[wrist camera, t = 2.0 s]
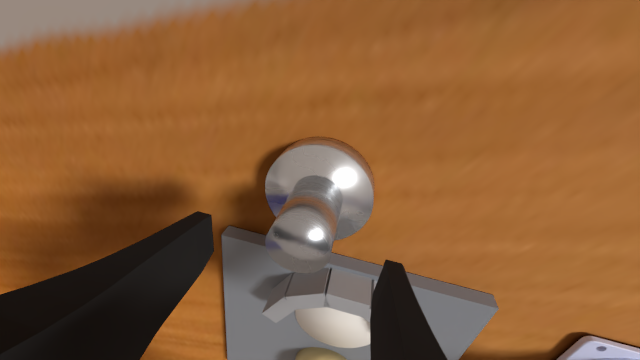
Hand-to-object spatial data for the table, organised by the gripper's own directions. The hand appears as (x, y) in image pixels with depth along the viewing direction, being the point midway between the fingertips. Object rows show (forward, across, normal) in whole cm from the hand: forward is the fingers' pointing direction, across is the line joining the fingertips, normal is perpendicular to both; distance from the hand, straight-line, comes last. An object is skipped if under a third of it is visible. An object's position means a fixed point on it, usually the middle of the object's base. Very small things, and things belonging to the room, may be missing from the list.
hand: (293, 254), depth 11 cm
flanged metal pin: (+6, 0, 0) cm, 6 cm away
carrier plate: (+6, -3, +14) cm, 15 cm away
